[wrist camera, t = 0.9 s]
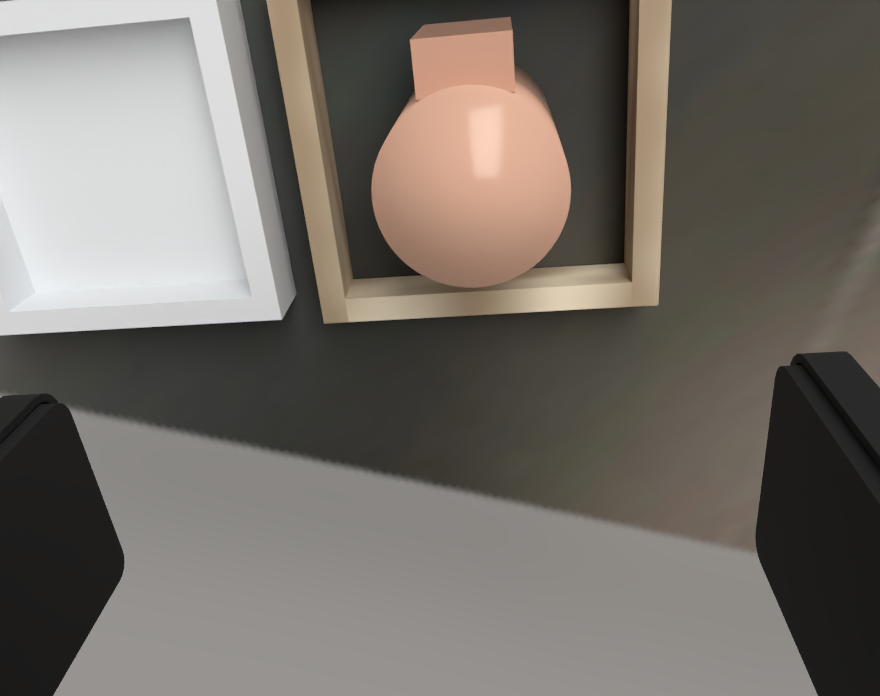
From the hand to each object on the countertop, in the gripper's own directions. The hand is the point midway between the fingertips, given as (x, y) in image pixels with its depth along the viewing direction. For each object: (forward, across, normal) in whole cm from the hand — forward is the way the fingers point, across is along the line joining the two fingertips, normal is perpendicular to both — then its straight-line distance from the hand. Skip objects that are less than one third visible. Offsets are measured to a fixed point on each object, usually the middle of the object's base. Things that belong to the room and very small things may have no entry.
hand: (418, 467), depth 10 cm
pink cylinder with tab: (+21, 0, 0) cm, 21 cm away
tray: (+21, +14, 0) cm, 25 cm away
